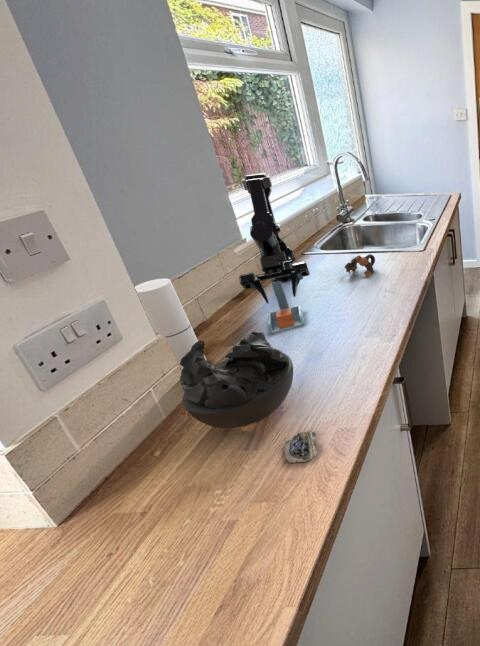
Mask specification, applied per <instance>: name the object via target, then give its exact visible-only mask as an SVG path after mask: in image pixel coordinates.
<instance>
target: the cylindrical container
mask: <svg viewBox="0 0 480 646" xmlns="http://www.w3.org/2000/svg"><path fill="white" fill-rule="evenodd" d="M134 287H135V289H136V291H137V294H138V296H139V298H140V300H141V302H142V305H143V307H144V309H145V312H146V314H147V316H148V318H149V321H150V323H151V325H152V327H153V329H154V330H155V332H156V333H158V334H161V335H164V336H165V337H166V338H167V339H168V341H169V343H170V346H171V349H172V352H173V353H174V355H175V357H176V359H177V361H178V364H179V366H180V368H181V370H182V369H183V366H181V365H180V361H181V359H182V357H184V356H185V355H186V353H188V352H189V351H190V350H191V347H192V346H193V345H194V344H195V343H196V342H198V341H199V340H198V337H197V336H196V333H195V331H194V329H193V327H192V324H191V322H190V320H189V318H188V315H187V313H186V311H185V309H184V306H183V305H182V303H181V300H180V298H179V296H178V293H177V292H176V289H175V287H174V285H173V283H172V280H171V279H170V278H165V277H164V278H156V279H151V280H147V281H144V282H141V283H139V284H137V285H135V286H134ZM204 357H205V359H206V360H207V358H206V355H205V354H204ZM208 365H210V364H209V363H208Z"/></svg>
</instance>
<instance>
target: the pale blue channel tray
mask: <svg viewBox="0 0 480 646" xmlns="http://www.w3.org/2000/svg"><path fill="white" fill-rule="evenodd" d="M271 286H272V290H273V292H274V295H275V297H276V301H277V304H278V307H279V309H278V310H273V311H270V312H268V314H267V326H268V329H269V332H270V334H271V335H272V334H275V333H279V332H283V331H287V330H290V329H294V328H298V327H302V326H304V325H305V320H304V312H303V308H302V305H301V304H298V305H294V306H290V305H289V302H288V298H287V296H286V293H285V289H284V286H283V284H282V281H273V282H271ZM289 308H291V311H292V314H293V317H294V323H295V325H293V326H289V327H286V328H282V329H280V328H279V325H278V322H277V319H276V312H277V311H281V310H285V309H289Z"/></svg>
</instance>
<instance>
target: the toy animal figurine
mask: <svg viewBox="0 0 480 646" xmlns="http://www.w3.org/2000/svg"><path fill="white" fill-rule="evenodd" d="M375 263H376V257H375V256H374V255H373V254H371V253H370V254H366V255H365V256H361V255H359V254H358V255H356V256H355V257H354V258H352V259H351V260H350V262H347V263H346V264H345V265H344V268H345V272H346V273H349V274H350V273H351V272H353V273H355V271H356V270H357V269H358V265H360V267H364V268H366V270H365V271H364V272H363V274H364V275H365V277H366V278H369V277H370V276H371V275H372V274H373V273H375V269H374V265H375Z"/></svg>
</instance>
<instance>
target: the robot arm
mask: <svg viewBox="0 0 480 646" xmlns="http://www.w3.org/2000/svg"><path fill="white" fill-rule="evenodd" d="M241 182H242V186H243V189H244V191H247V193H248V194H249V195H250V199H251V204H252V209H253V213H254V214H253V215H252V216H251V218H250V221H251V225H250V227H249V231H250V232H249V235H250V237H251V238H252V240H253V241H254V243H255V245H256V246H257V248H258V250H259V255H260V258H258V261H259V263H260V266H261V267H260V268H261V271H262V274H258V275H257V274H255V273H254V272H247V273H244V274H243V273H242V274H240V275H239V277H238V280H239V284H240V286H242V288H243V289H244V290H249V289H252V290H254V291H258V292H259V294H261V296H262V298H263V299H264V301H265V302H266V304H270V301H269V298H268V295H267V292H266V289H265V286H264V285H263V283H262V282H265V281H268V280H269V281H270V280H273V281H276V282H278V281H281V282H288V281H291V291H292V295H293V298H296V296H297V293H298V286H299V284H300V281H301V280H303V279H304V277H308V276H310V275H311V273H310V270H309V266H308V264H307V262H306V261H301V262H296V263H294V262H295V261H296V256H295V253H294V251H293V249H291V248H290V246H288V244H287V242H286V241H285V240H283V239H282V238H281V236H280V233H281V231H282V227H281V225H280V223H278V222H277V221H276V219H275V214H274V212H273V207H272V204H271V201H270V196H271V193H272V187H273V184H272V180H271V177H270V175H266V173H264V172H263V173H256V174H255V173H254V174H247V175H245V178H242V179H241Z"/></svg>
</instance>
